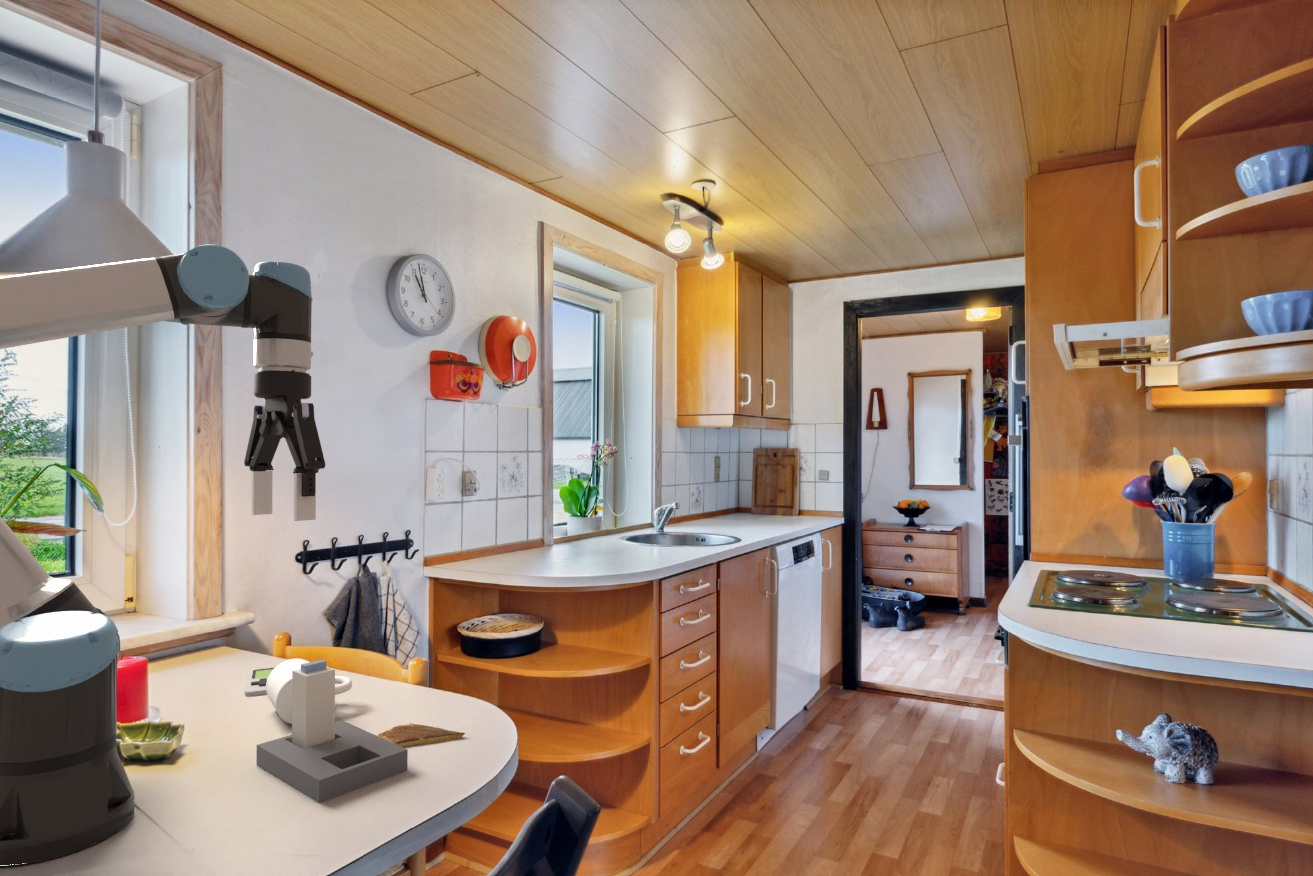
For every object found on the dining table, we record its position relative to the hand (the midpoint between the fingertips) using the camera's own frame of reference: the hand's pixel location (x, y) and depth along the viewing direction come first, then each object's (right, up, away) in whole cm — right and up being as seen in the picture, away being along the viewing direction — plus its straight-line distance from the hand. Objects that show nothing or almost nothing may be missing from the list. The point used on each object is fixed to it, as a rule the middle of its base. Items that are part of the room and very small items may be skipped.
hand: (282, 517), depth 111 cm
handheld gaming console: (-15, -34, +29) cm, 47 cm away
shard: (+19, -34, +2) cm, 39 cm away
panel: (+11, -33, -9) cm, 36 cm away
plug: (+7, -32, -6) cm, 34 cm away
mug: (-1, -33, +12) cm, 35 cm away
